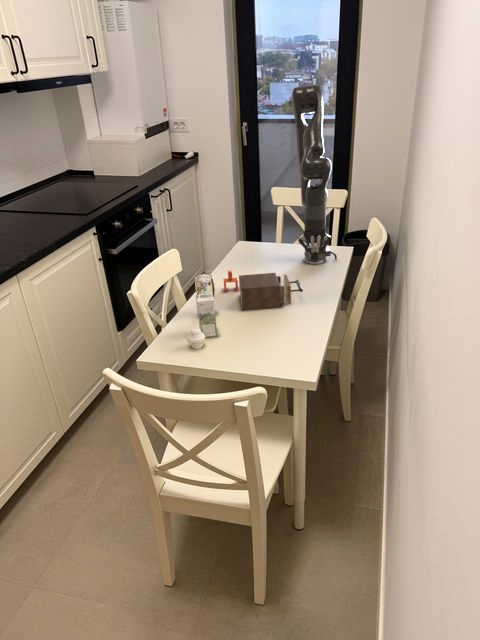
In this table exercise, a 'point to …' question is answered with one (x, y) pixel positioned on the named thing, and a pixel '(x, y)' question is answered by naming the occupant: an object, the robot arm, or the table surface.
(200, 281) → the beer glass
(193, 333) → the muffin
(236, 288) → the orange angular part
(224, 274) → the table surface
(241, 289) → the cabinet
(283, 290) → the drawer
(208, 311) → the syrup box
